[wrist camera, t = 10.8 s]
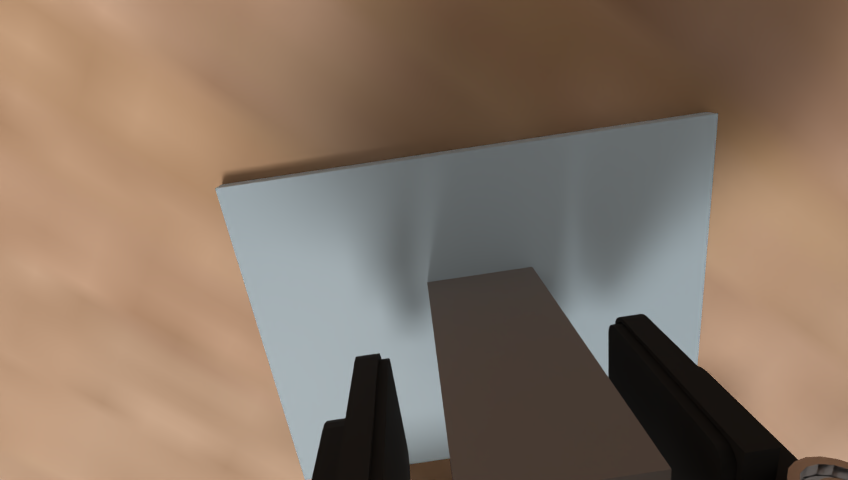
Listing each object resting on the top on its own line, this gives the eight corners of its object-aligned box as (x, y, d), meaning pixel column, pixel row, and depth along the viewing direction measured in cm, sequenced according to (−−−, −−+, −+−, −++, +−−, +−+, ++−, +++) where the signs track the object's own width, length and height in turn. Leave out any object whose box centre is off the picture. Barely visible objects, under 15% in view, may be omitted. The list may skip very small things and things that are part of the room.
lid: (698, 110, 12) (1136, 163, 5) (678, 405, 16) (919, 692, 8) (226, 182, 12) (-28, 337, 5) (309, 460, 16) (231, 793, 8)
